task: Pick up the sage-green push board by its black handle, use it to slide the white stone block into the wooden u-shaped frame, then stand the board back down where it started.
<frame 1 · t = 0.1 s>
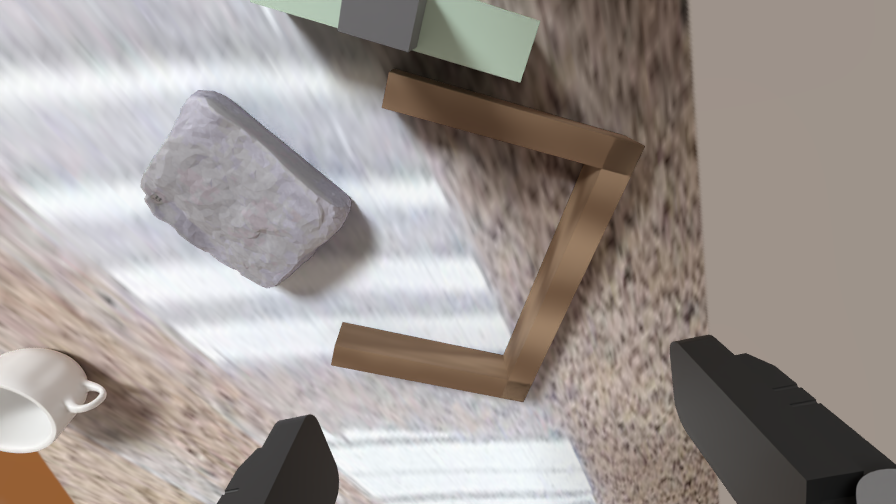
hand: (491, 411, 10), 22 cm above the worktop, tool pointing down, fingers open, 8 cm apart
push board: (404, 15, 26), on the worktop
teacup: (71, 368, 38), on the worktop
wooden u-shaped frame: (453, 246, 33), on the worktop
stone block: (254, 193, 31), on the worktop
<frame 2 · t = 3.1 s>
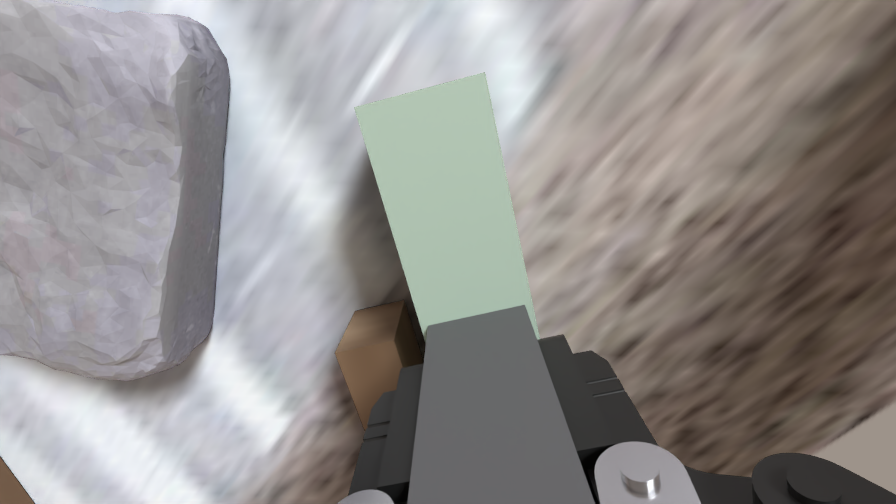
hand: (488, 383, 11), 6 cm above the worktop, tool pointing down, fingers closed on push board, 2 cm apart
push board: (477, 284, 16), on the worktop, touching gripper
wooden u-shaped frame: (216, 484, 20), on the worktop
stone block: (99, 175, 16), on the worktop
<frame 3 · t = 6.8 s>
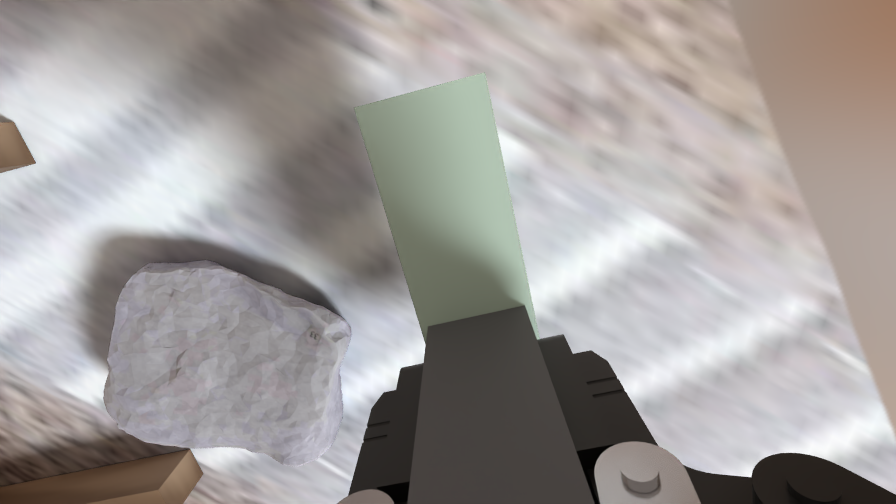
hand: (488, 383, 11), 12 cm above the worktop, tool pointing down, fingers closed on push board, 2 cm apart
push board: (477, 284, 16), point 6 cm above the worktop, touching gripper
wooden u-shaped frame: (11, 348, 25), on the worktop
stone block: (252, 337, 25), on the worktop
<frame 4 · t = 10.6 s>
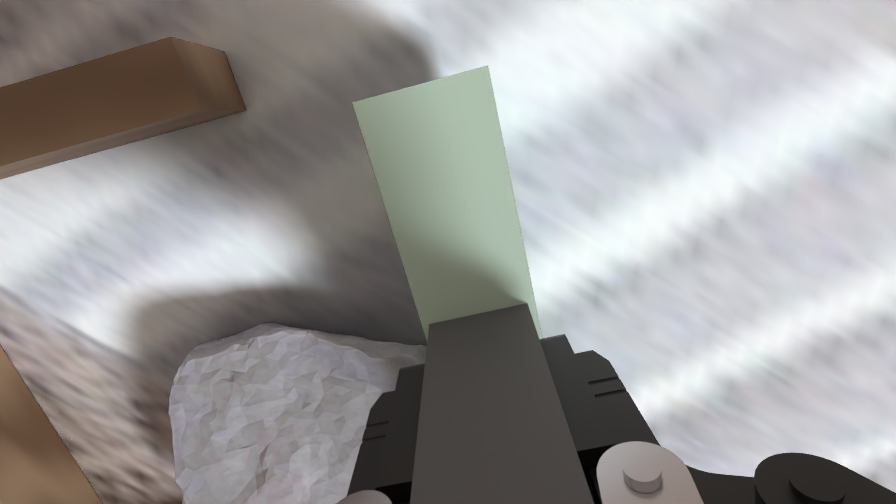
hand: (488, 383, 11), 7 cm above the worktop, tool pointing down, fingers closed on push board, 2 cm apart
push board: (478, 277, 16), point 1 cm above the worktop, touching gripper, stone block
wooden u-shaped frame: (176, 363, 19), on the worktop
stone block: (340, 402, 20), on the worktop, touching push board
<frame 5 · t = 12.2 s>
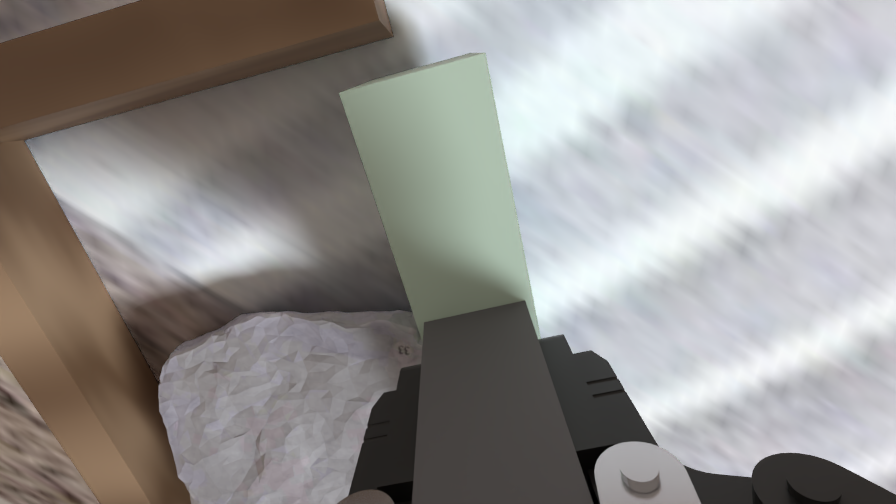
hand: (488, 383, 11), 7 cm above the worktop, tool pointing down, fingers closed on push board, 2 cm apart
push board: (472, 266, 16), point 1 cm above the worktop, tilted 6°, touching gripper
wooden u-shaped frame: (292, 315, 18), on the worktop
stone block: (337, 384, 20), on the worktop
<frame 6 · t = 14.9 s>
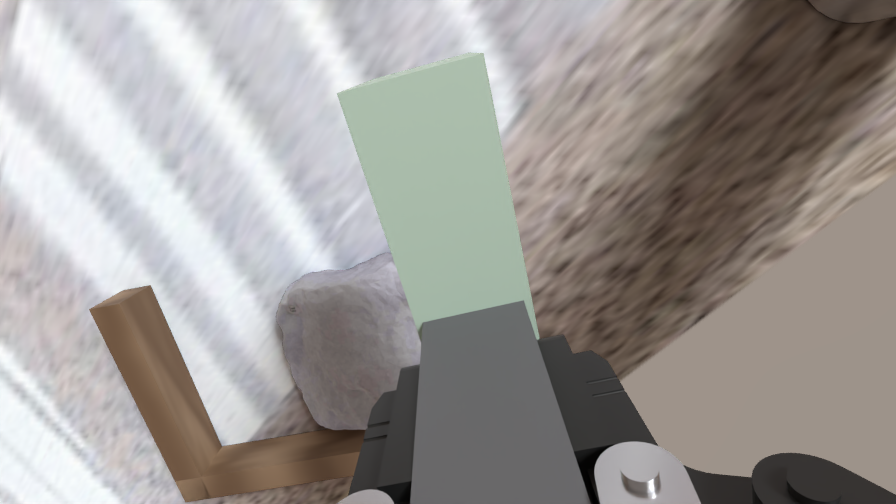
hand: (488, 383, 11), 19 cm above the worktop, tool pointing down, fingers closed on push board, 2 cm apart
push board: (471, 266, 16), point 13 cm above the worktop, tilted 7°, touching gripper
wooden u-shaped frame: (305, 350, 31), on the worktop
stone block: (361, 334, 32), on the worktop
when the fingers open (7 cm above the worktop, at t = 17.6 s): push board drops 1 cm, on the worktop.
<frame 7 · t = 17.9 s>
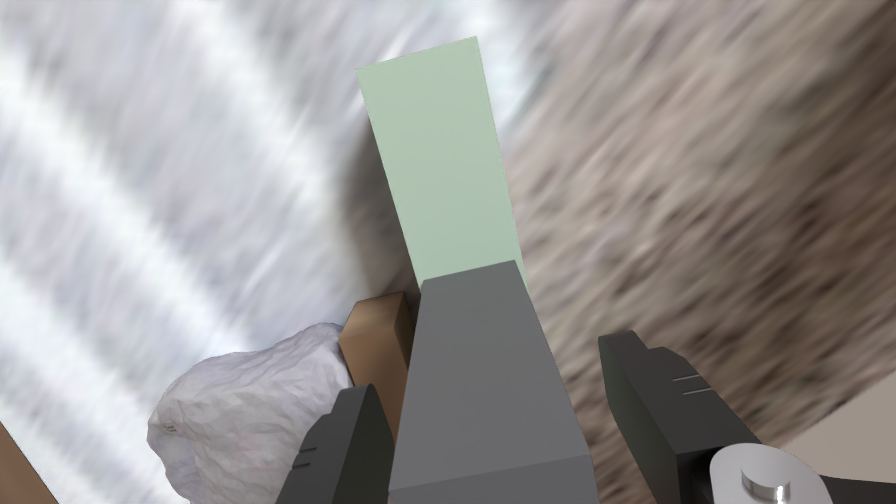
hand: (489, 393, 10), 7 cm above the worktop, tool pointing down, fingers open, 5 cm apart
push board: (472, 253, 17), on the worktop
wooden u-shaped frame: (223, 470, 21), on the worktop
stone block: (303, 438, 21), on the worktop
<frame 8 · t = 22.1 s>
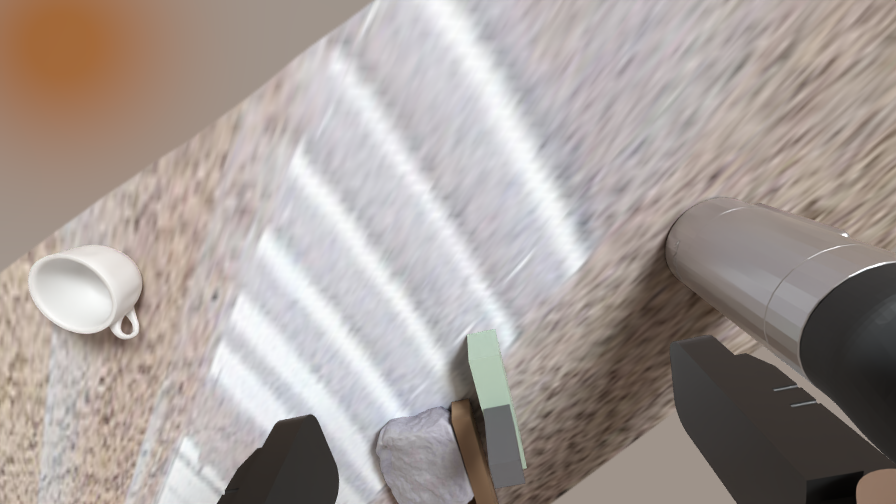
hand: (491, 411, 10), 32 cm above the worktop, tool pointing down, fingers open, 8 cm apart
push board: (494, 385, 48), on the worktop
teacup: (125, 281, 44), on the worktop
wooden u-shaped frame: (392, 464, 51), on the worktop
stone block: (423, 449, 51), on the worktop
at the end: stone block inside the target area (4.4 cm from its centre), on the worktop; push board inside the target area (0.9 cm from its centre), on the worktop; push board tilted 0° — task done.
